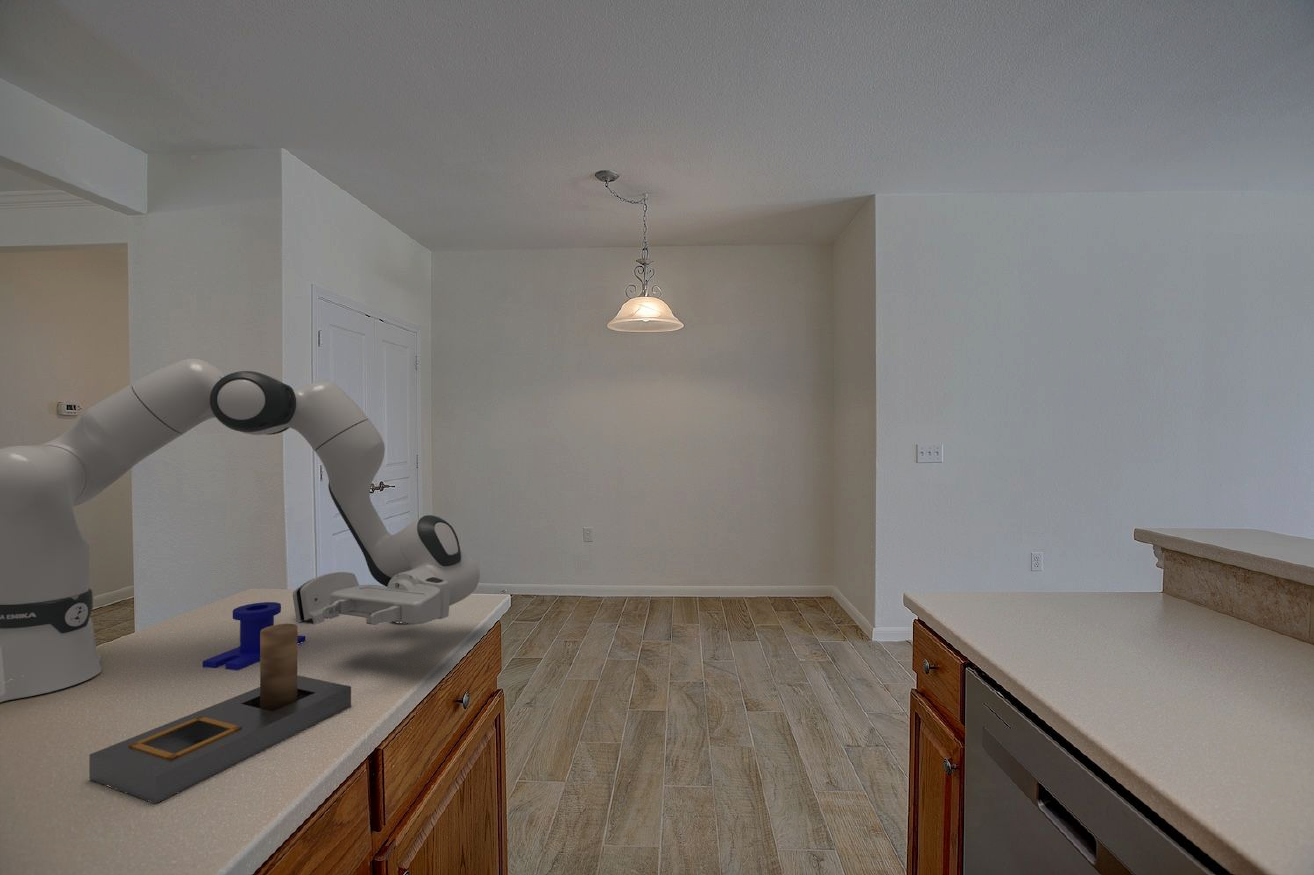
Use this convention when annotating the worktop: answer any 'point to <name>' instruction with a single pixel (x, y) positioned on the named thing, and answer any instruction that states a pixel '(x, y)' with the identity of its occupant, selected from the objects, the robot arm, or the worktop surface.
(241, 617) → the mount
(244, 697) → the grey slotted board
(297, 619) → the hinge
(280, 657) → the peg
